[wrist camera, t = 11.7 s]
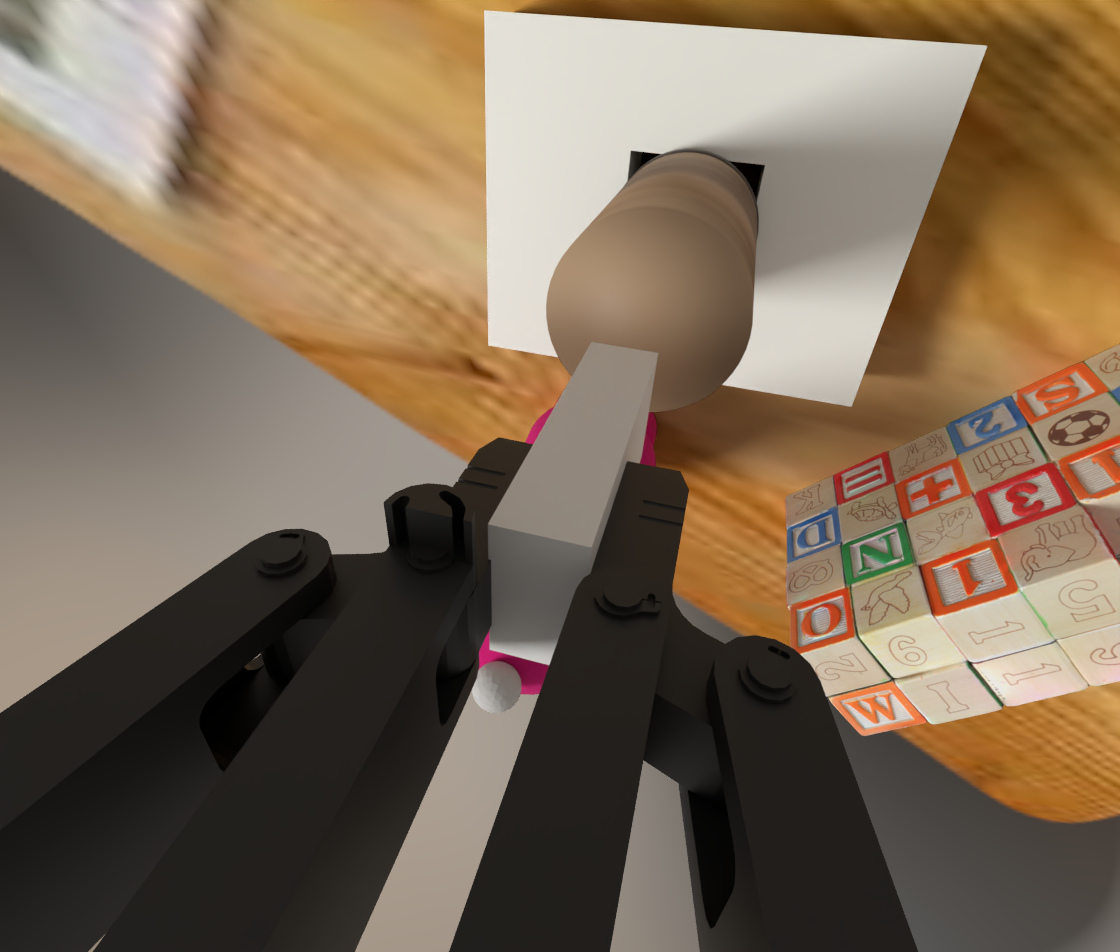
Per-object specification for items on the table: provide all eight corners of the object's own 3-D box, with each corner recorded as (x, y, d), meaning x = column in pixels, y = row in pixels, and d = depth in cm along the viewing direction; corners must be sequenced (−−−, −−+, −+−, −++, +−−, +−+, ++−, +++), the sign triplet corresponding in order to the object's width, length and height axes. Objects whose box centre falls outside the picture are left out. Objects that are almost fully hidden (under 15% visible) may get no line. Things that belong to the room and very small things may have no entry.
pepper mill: (663, 367, 35) (577, 649, 19) (667, 476, 39) (599, 784, 23) (538, 368, 37) (367, 623, 21) (554, 471, 41) (420, 751, 25)
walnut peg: (634, 130, 28) (548, 196, 17) (774, 144, 27) (780, 224, 16) (619, 267, 32) (540, 394, 21) (742, 284, 31) (728, 429, 20)
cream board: (512, 12, 27) (484, 10, 24) (962, 43, 24) (987, 45, 21) (510, 320, 35) (488, 345, 33) (844, 374, 32) (851, 406, 30)
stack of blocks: (1254, 275, 26) (1546, 424, 16) (1303, 388, 28) (1592, 584, 18) (782, 497, 38) (787, 660, 28) (837, 566, 39) (861, 742, 30)
